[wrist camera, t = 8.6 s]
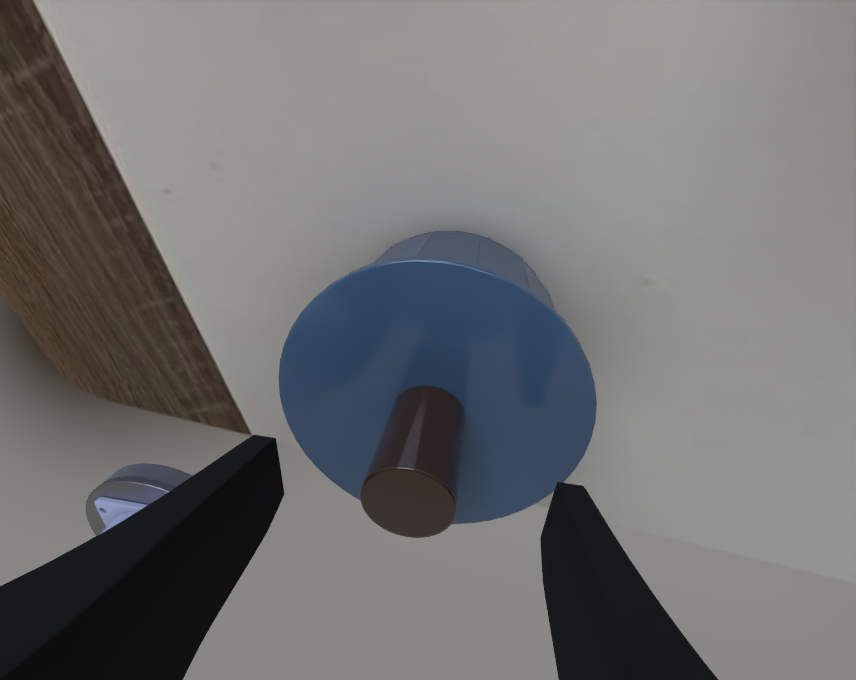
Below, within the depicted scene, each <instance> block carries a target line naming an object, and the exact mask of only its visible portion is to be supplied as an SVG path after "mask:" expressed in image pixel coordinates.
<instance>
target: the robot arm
mask: <svg viewBox="0 0 856 680" xmlns="http://www.w3.org/2000/svg"><path fill="white" fill-rule="evenodd" d="M283 496H284V489H283V483H282V476H281V469H280V463H279V456H278V450H277V443H276V438H271V437H264V436H258V435H253V436H251V437H250V438H249V439H247V440H245V441H244V442H242V443H241V444H239V445H238V446H236V447H235V448H233V449H232V450H230V451H229V452H227V453H226V454H225V455H223V456H222V457H220V458H219V459H217V460H216V461H214V462H213V463H212V464H210V465H209V466H207V467H206V468H204V469H203V470H201V471H200V472H198V473H197V474H195V475H194V476H192V477H191V478H189V479H188V480H186V481H185V482H183V483H182V484H180V485H179V486H177V487H176V488H174V489H173V490H171V491H170V492H168V493H167V494H165V495H163V496H162V497H160V498H159V499H157V500H155V501H154V502H152V503H150V504H149V505H146V504H141V503H135V502H130V501H124V500H119V499H113V498H108V497H99V498H98V499H97V500H96V501H95V506H96V508H97V510H98V512H99V514H100V516H101V518H102V520H103V522H104V524H105V526H106V528H105V529H104V530H103V531H102V532H101V533H100V534H99V535H98V536H96V537H94V538H93V539H91V540H89V541H87V542H85V543H84V544H82V545H80V546H78V547H77V548H74V549H73V550H71V551H69V552H67V553H65V554H63V555H61V556H60V557H58V558H56V559H54V560H52V561H50V562H49V563H46V564H44V565H43V566H41V567H39V568H37V569H35V570H33V571H30V572H28V573H26V574H24V575H22V576H20V577H18V578H17V579H14V580H12V581H10V582H9V583H6V584H4V585H2V586H0V680H183V678H184V676H185V674H186V672H187V670H188V668H189V666H190V664H191V662H192V660H193V658H194V656H195V654H196V652H197V650H198V648H199V646H200V644H201V642H202V641H203V639H204V637H205V635H206V633H207V632H208V630H209V628H210V626H211V625H212V623H213V621H214V620H215V618H216V616H217V615H218V613H219V611H220V610H221V608H222V606H223V605H224V603H225V601H226V600H227V598H228V596H229V595H230V593H231V591H232V590H233V588H234V586H235V585H236V583H237V581H238V580H239V578H240V577H241V575H242V573H243V571H244V570H245V568H246V567H247V565H248V563H249V562H250V560H251V558H252V557H253V555H254V553H255V552H256V550H257V548H258V546H259V545H260V543H261V541H262V540H263V538H264V536H265V534H266V533H267V531H268V529H269V527H270V524H271V522H272V520H273V518H274V516H275V514H276V511H277V509H278V507H279V504H280V502H281V500H282V498H283ZM541 556H542V573H543V584H544V591H545V598H546V604H547V610H548V616H549V623H550V629H551V635H552V641H553V647H554V653H555V658H556V665H557V671H558V677H559V680H718V679H717V678H716V676H715V675H714V674H713V673H712V671H711V670H710V669H709V668H708V666H707V665H706V664H705V663H704V661H703V660H702V659H701V658H700V656H699V655H698V654H697V652H696V651H695V650H694V648H693V647H692V646H691V645H690V643H689V642H688V641H687V639H686V638H685V637H684V635H683V634H682V633H681V631H680V630H679V629H678V627H677V626H676V625H675V623H674V622H673V620H672V619H671V618H670V617H669V615H668V614H667V612H666V611H665V610H664V608H663V607H662V606H661V604H660V603H659V601H658V600H657V598H656V597H655V596H654V594H653V593H652V591H651V590H650V589H649V587H648V586H647V584H646V583H645V581H644V580H643V578H642V577H641V575H640V574H639V572H638V571H637V569H636V568H635V566H634V565H633V564H632V562H631V561H630V559H629V558H628V556H627V555H626V553H625V551H624V550H623V548H622V547H621V545H620V544H619V542H618V541H617V539H616V537H615V536H614V534H613V533H612V531H611V530H610V528H609V526H608V525H607V523H606V522H605V520H604V518H603V517H602V515H601V513H600V512H599V510H598V509H597V507H596V505H595V504H594V502H593V500H592V499H591V497H590V495H589V494H588V492H587V490H586V489H585V488H584V487H583V486H579V485H573V484H566V483H560V482H557V484H556V488H555V491H554V494H553V498H552V501H551V504H550V508H549V511H548V515H547V518H546V521H545V525H544V528H543V531H542V535H541Z"/></svg>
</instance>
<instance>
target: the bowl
mask: <svg viewBox="0 0 856 680" xmlns="http://www.w3.org/2000/svg"><path fill="white" fill-rule="evenodd" d="M418 255H420V256H444V257H450V258H456V259H462V260H467V261H471V262H474V263H477V264H481V265H484V266H487V267H491V268H493V269H495V270H497V271H499V272H502V273H504V274H506V275H508V276H510V277H513V278H514V279H516V280H518V281H519V282H521V283H522V284H524V285H526V286H527V287H529V288H530V289H532V290H533V291H535V292H536V293H537V294H538V295H539V296H541V297H542V298H543V299H544V300H545V301H547V302H548V303H549V304H550V305H551V306H552V307H553V308H554V306H553V304H552V301H551V299H550V296H549V294H548V291H547V290H546V288H545V287H544V286H543V285H542V283H541V282H540V280H539V279H538V277H537V276H536V274H535V273H534V271H533V270H532V269H531V268H530V267H529V266H528V265H527V264H526V262H525V261H524V260H523V259H522V258H520V256H518V255H516V254H515V253H514V252H513V251H511V250H510V249H508V248H506V247H505V246H503V245H502V244H500V243H497V242H495V241H493V240H491V239H489V238H486V237H483V236H479V235H476V234H472V233H466V232H460V231H439V232H438V231H436V232H430V233H426V234H422V235H418V236H414V237H412V238H409V239H407V240H404V241H402V242H400V243H397V244H395V245H394V246H391V247H390V248H389V249H388V250H387V251H386V252H385V253H383V254H382V255H381V256H380V257H379V258H378V259H377V260H376V261H375V262H379V261H384V260H388V259H392V258H398V257H408V256H418ZM375 262H374V263H375Z"/></svg>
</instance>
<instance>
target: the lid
mask: <svg viewBox="0 0 856 680" xmlns="http://www.w3.org/2000/svg"><path fill="white" fill-rule="evenodd" d="M279 389H280V397H281V402H282V407H283V411H284V414H285V416H286V419H287V422H288V425H289V427H290V429H291V431H292V433H293V435H294V437H295V439H296V440H297V442H298V443H299V445H300V446H301V448H302V449H303V451H304V452H305V454H306V455H307V456H308V457H309V459H310V460H311V461H312V462H313V463H314V464H315V466H316V467H317V468H318V469H319V470H320V471H321V472H322V473H324V474H325V475H326V476H327V477H328V478H329V479H330V480H331V481H333V482H334V483H335V484H337V485H338V486H339V487H341V488H342V489H343V490H345V491H346V492H348V493H350V494H351V495H353V496H354V497H356V498H357V499H359V500H361V503H362V506H363V509H364V511H365V512H366V514H367V515H368V516H369V517H370V519H372V520H373V521H374V522H375V523H376V524H377V525H379V526H380V527H382V528H384V529H385V530H387V531H389V532H392V533H394V534H397V535H401V536H405V537H413V538H421V537H429V536H433V535H436V534H439V533H440V532H443V531H444V530H445V529H447V528H448V527H449V526H450V525H451V524H462V523H476V522H482V521H489V520H493V519H497V518H501V517H505V516H508V515H510V514H513V513H516V512H519V511H521V510H524V509H526V508H527V507H530V506H532V505H533V504H535V503H537V502H539V501H540V500H542V499H543V498H545V497H546V496H548V495H549V494H551V493H552V492H553V491H554V490H555V488H556V484H557V482H560V483H563V482H564V481H565V480H566V479H567V478H568V477H569V476H570V474H571V473H572V472H573V471H574V470H575V469H576V467H577V465H578V464H579V462H580V461H581V459H582V457H583V456H584V454H585V452H586V449H587V447H588V444H589V442H590V440H591V437H592V433H593V428H594V424H595V418H596V404H597V402H596V392H595V383H594V380H593V376H592V372H591V369H590V365H589V363H588V360H587V358H586V356H585V354H584V352H583V350H582V347H581V345H580V343H579V341H578V339H577V337H576V336H575V334H574V333H573V331H572V330H571V328H570V327H569V325H568V324H567V322H566V321H565V320H564V319H563V318H562V317H561V316H560V315H559V313H558V312H557V311H556V310H555V309H554V308H553V307H552V306H551V305H550V304H549V303H548V302H547V301H545V300H544V299H543V298H542V297H541V296H539V295H538V294H537V293H536V292H535V291H533V290H532V289H530V288H529V287H527V286H526V285H524V284H522V283H521V282H519V281H518V280H516V279H514V278H513V277H510V276H508V275H506V274H504V273H502V272H499V271H497V270H495V269H493V268H491V267H487V266H484V265H481V264H477V263H474V262H471V261H467V260H462V259H456V258H450V257H444V256H420V255H418V256H408V257H398V258H392V259H388V260H384V261H379V262H375V263H372V264H369V265H367V266H364V267H362V268H359V269H357V270H354V271H352V272H350V273H348V274H347V275H345V276H343V277H341V278H340V279H338V280H336V281H335V282H333V283H332V284H331V285H330V286H328V287H327V288H326V289H325V290H323V291H322V292H321V293H320V294H318V295H317V296H316V297H315V298H314V299H313V300H312V301H311V302H310V303H309V304H308V305H307V306H306V308H305V309H304V310H303V311H302V312H301V313H300V315H299V317H298V318H297V320H296V321H295V323H294V324H293V326H292V327H291V330H290V332H289V334H288V337H287V339H286V341H285V343H284V347H283V351H282V355H281V359H280V369H279Z"/></svg>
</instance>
